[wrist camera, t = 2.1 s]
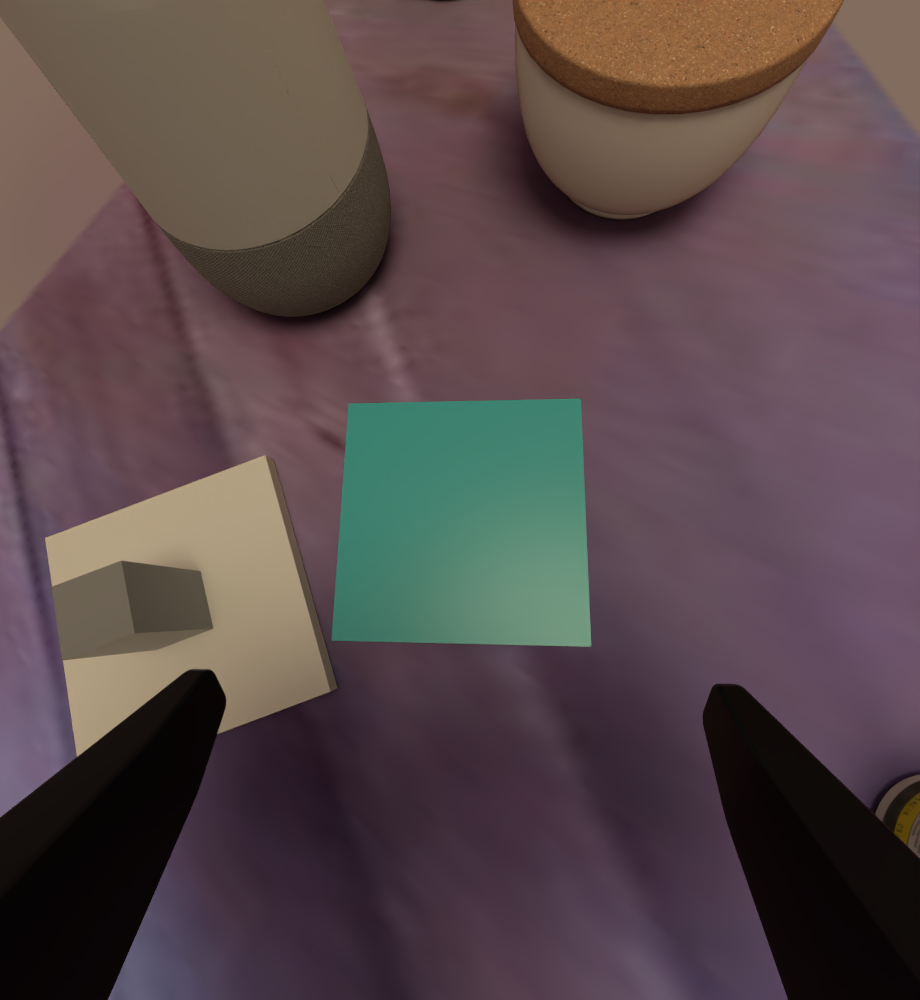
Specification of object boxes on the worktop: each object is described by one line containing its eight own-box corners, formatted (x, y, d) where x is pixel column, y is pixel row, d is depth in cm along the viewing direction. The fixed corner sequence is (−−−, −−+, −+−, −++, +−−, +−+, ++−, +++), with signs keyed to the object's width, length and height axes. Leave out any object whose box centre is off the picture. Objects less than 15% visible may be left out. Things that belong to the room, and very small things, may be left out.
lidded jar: (464, 175, 24) (440, -93, 15) (614, 45, 25) (677, -280, 16) (630, 306, 22) (723, 82, 12) (788, 156, 23) (981, -151, 13)
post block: (337, 688, 19) (280, 714, 14) (98, 778, 19) (-41, 835, 14) (273, 460, 21) (206, 416, 16) (61, 540, 21) (-69, 519, 16)
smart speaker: (382, 349, 22) (190, -70, 9) (197, 330, 23) (-234, -67, 10) (418, 177, 24) (309, -382, 11) (246, 168, 25) (-54, -350, 12)
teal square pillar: (547, 629, 19) (591, 646, 9) (414, 626, 19) (331, 640, 10) (544, 498, 20) (580, 399, 11) (419, 498, 20) (348, 403, 11)
